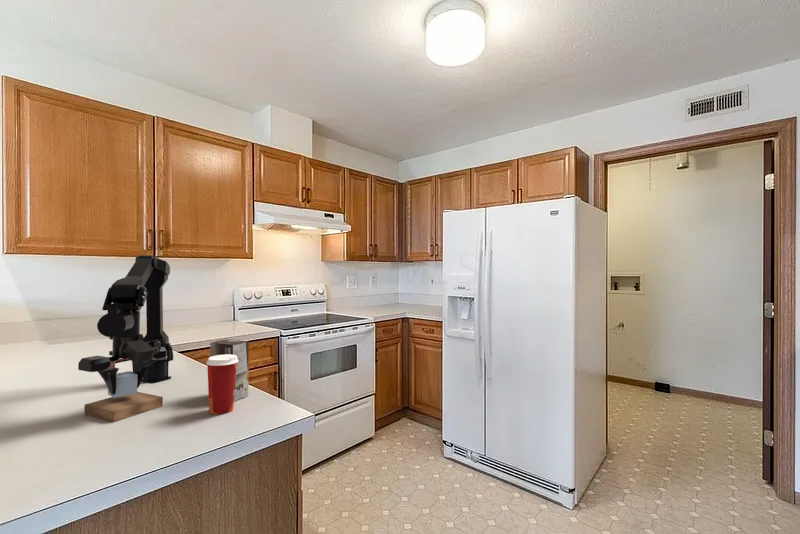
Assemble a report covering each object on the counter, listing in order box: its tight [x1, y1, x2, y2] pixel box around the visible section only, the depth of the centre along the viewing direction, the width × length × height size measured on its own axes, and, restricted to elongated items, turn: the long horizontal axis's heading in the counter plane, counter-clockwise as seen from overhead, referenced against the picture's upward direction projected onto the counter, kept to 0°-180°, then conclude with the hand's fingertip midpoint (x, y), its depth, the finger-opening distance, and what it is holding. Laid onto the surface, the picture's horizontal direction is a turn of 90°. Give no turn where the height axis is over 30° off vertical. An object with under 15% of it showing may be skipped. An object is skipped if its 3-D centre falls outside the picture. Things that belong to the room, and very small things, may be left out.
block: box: [107, 370, 138, 398], centre depth 100 cm, size 5×5×5 cm
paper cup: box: [205, 354, 238, 416], centre depth 99 cm, size 8×8×14 cm
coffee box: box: [209, 339, 250, 402], centre depth 110 cm, size 9×6×16 cm
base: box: [83, 391, 164, 423], centre depth 99 cm, size 12×12×2 cm
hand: (125, 390), depth 99 cm, fingers closed on block, 5 cm apart
